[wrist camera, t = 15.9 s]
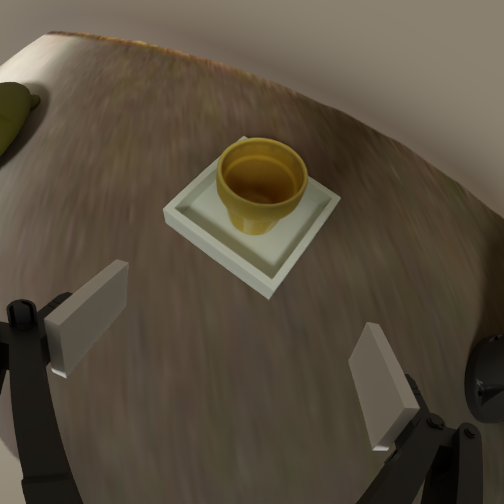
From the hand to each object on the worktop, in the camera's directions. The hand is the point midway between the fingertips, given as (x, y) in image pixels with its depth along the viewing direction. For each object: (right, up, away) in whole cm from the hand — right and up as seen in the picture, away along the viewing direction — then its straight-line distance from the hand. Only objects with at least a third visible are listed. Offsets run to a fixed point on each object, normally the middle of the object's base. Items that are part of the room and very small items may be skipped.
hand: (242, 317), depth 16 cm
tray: (+1, +8, +28) cm, 29 cm away
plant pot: (0, +8, +27) cm, 29 cm away
